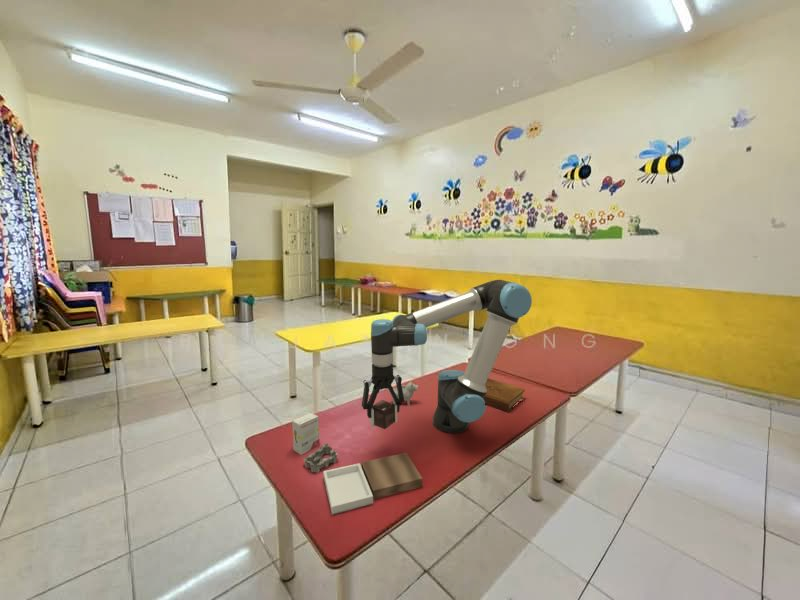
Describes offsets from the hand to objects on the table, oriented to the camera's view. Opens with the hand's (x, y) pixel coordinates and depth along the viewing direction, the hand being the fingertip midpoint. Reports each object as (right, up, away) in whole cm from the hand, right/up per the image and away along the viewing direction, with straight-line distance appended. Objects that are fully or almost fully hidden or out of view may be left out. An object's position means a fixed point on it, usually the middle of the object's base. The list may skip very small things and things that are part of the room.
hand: (383, 422), depth 124 cm
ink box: (-29, -10, +3) cm, 31 cm away
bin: (-10, -14, -19) cm, 26 cm away
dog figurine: (+8, -5, +39) cm, 40 cm away
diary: (+52, -5, +45) cm, 69 cm away
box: (0, -1, 0) cm, 1 cm away
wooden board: (+3, -13, -13) cm, 19 cm away
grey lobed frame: (-21, -12, -6) cm, 25 cm away
